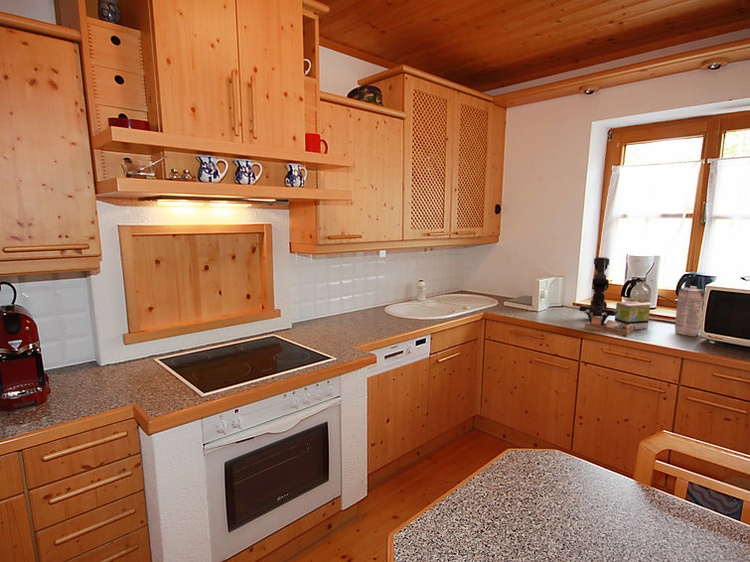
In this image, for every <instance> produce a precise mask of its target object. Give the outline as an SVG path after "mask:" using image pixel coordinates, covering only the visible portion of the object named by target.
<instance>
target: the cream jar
mask: <svg viewBox="0 0 750 562" xmlns="http://www.w3.org/2000/svg"><path fill="white" fill-rule="evenodd" d="M606 320H607V319H606ZM605 323H606V327H610V328H616V325H617V322H616V321H615V319H614V320H613V319H612V320H610V319H608V320H607V321H605Z"/></svg>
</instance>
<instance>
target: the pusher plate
mask: <svg viewBox="0 0 750 562" xmlns="http://www.w3.org/2000/svg"><path fill="white" fill-rule="evenodd" d="M616 329H622V330H623V327H621V323H619V324H618V325H616Z"/></svg>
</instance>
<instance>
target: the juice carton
mask: <svg viewBox="0 0 750 562" xmlns="http://www.w3.org/2000/svg"><path fill="white" fill-rule="evenodd" d="M689 286H690V287H682V288H680V289H679V290H678V296H677V304H676V314H675V321H674V322H675V323H674V330H675V334H676V333H677V335H681V334H682V335H683V336H687V335H688V336H687V337H692V336H693V337H696V336H698V335H699V333H700V332H701V327H700V325H701V326H702V320H701V316H702V317H703V312H702V308H703V309H704V303H703V301H705V289H701V288H697V286H693V285H689ZM682 335H681V336H682ZM693 337H692V338H693Z"/></svg>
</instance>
